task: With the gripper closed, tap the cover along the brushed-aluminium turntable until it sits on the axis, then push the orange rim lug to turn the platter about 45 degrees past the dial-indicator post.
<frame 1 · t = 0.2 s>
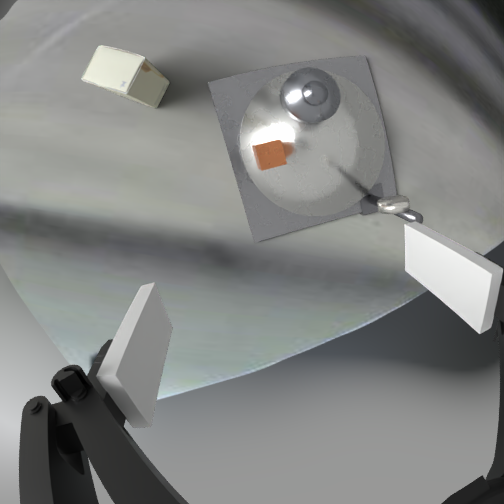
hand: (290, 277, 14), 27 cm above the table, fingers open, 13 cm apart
skincare box: (144, 88, 34), on the table
cover: (306, 97, 34), point 3 cm above the table, touching platter
turntable base: (312, 141, 38), on the table
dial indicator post: (369, 198, 42), resting on turntable base
platter: (321, 141, 34), point 4 cm above the table, hinge at 0.0°, touching cover
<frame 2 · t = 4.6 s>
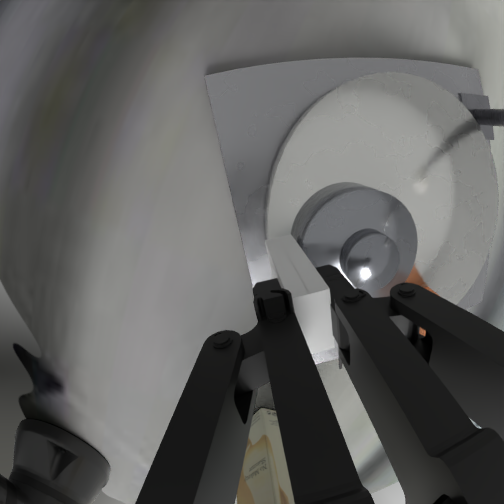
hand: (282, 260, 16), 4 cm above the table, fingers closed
skincare box: (262, 425, 28), on the table
cover: (345, 238, 18), point 3 cm above the table, touching platter
turntable base: (393, 211, 20), on the table
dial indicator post: (471, 117, 18), resting on turntable base
platter: (424, 226, 17), point 4 cm above the table, hinge at 0.0°, touching cover
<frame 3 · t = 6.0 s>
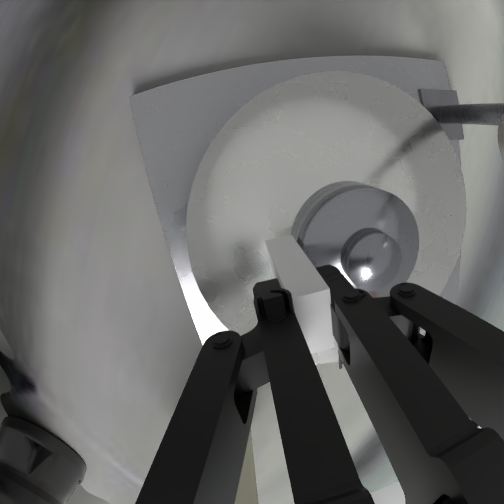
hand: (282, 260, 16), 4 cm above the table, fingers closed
skincare box: (219, 433, 27), on the table
cover: (345, 237, 18), point 3 cm above the table, touching gripper, platter
turntable base: (337, 223, 20), on the table
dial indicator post: (436, 115, 18), resting on turntable base
platter: (362, 242, 16), point 4 cm above the table, hinge at 0.0°, touching cover
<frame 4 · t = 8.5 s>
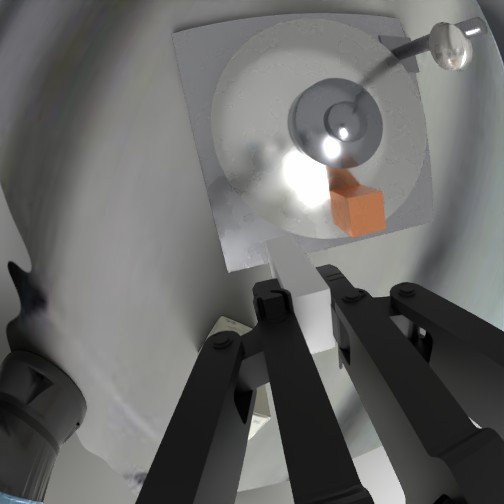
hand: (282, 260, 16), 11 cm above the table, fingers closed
skincare box: (225, 341, 32), on the table
cover: (328, 124, 22), point 3 cm above the table, touching platter
turntable base: (323, 125, 25), on the table
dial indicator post: (395, 55, 23), resting on turntable base
platter: (339, 122, 21), point 4 cm above the table, hinge at 0.0°, touching cover
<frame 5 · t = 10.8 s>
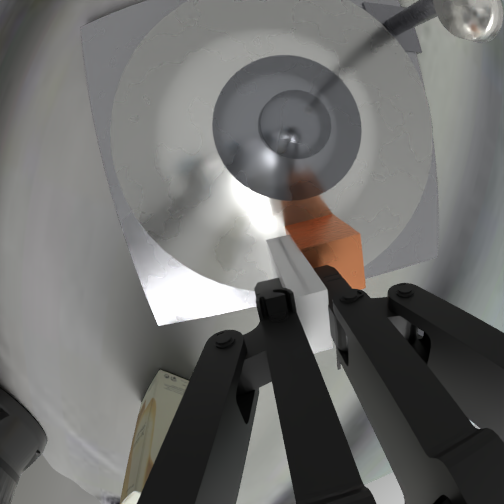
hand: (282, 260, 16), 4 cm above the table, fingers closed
skincare box: (169, 394, 25), on the table
cover: (279, 129, 15), point 3 cm above the table, touching platter
turntable base: (279, 129, 18), on the table
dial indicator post: (387, 30, 15), resting on turntable base
platter: (293, 125, 14), point 4 cm above the table, hinge at 2.2°, touching cover, gripper
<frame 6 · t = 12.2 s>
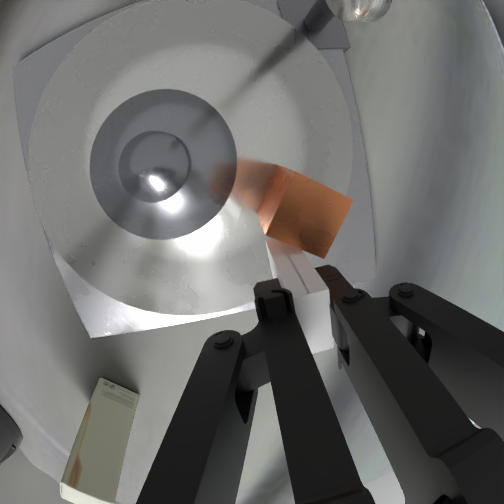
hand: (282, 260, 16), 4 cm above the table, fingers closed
skincare box: (114, 400, 25), on the table
cover: (170, 161, 15), point 3 cm above the table, touching platter
turntable base: (181, 151, 18), on the table
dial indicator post: (310, 27, 15), resting on turntable base
platter: (169, 153, 14), point 4 cm above the table, hinge at 54.6°, touching cover, gripper
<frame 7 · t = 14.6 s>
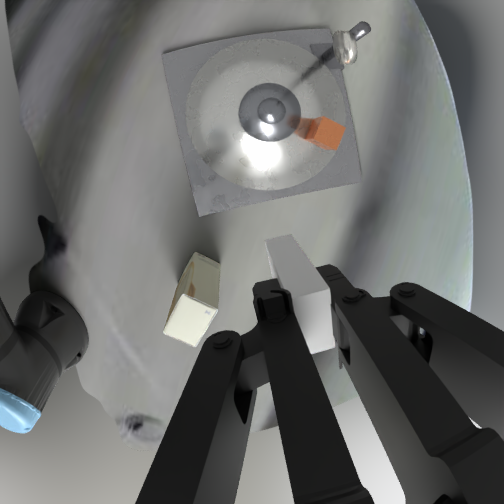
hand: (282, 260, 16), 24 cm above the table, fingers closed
skincare box: (198, 274, 43), on the table
cover: (267, 114, 33), point 3 cm above the table, touching platter
turntable base: (265, 113, 36), on the table
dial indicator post: (325, 57, 33), resting on turntable base
platter: (269, 109, 32), point 4 cm above the table, hinge at 55.6°, touching cover
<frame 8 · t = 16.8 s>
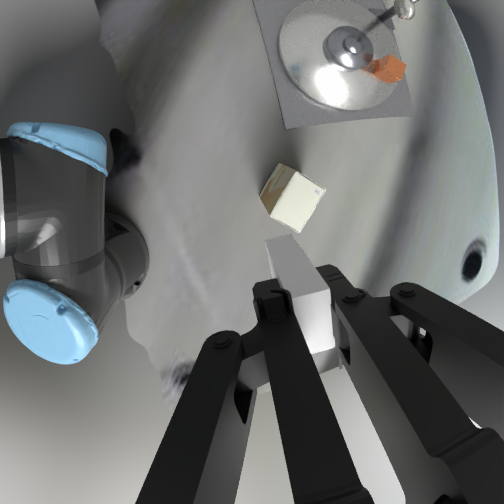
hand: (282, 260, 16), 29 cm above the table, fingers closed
skincare box: (279, 186, 45), on the table
cover: (344, 51, 35), point 3 cm above the table, touching platter
turntable base: (338, 53, 37), on the table
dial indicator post: (379, 20, 35), resting on turntable base
platter: (348, 46, 34), point 4 cm above the table, hinge at 55.6°, touching cover
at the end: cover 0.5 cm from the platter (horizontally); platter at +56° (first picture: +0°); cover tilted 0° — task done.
